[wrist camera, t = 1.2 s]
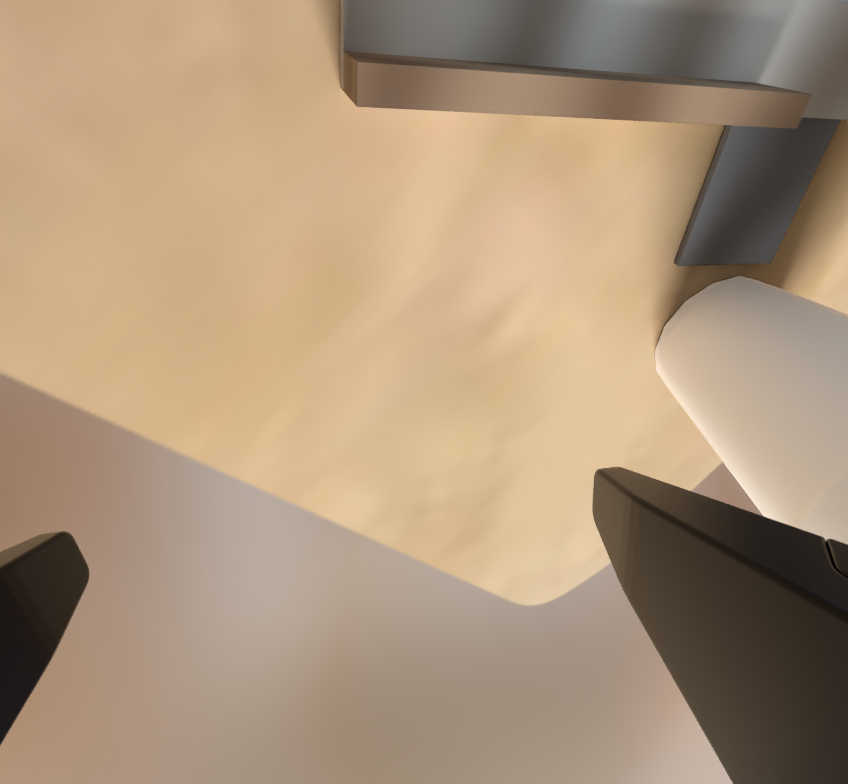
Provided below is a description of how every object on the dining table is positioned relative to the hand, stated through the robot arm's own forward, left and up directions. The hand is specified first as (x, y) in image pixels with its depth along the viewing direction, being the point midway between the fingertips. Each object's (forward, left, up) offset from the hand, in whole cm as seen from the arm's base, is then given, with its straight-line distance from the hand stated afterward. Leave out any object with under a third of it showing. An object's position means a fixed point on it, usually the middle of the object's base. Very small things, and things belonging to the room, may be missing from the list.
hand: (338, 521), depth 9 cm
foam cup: (+20, +6, -13) cm, 24 cm away
